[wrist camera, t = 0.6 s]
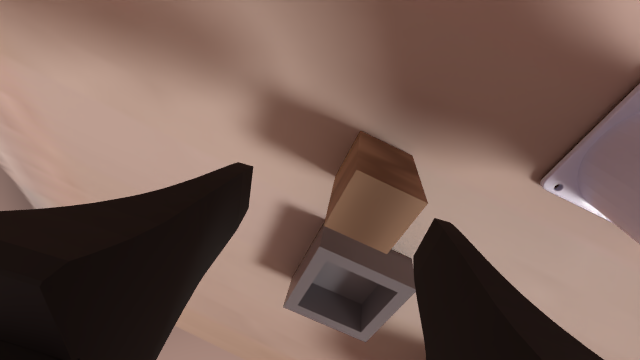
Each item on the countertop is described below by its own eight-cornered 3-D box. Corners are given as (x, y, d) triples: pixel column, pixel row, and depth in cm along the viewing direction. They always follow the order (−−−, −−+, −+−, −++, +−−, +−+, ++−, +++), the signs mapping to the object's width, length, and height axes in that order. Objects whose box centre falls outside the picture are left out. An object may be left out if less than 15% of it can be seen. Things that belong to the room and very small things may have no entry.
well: (411, 259, 23) (417, 290, 21) (366, 310, 27) (365, 342, 25) (325, 219, 23) (319, 246, 20) (292, 278, 27) (283, 306, 24)
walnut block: (412, 155, 19) (428, 203, 14) (382, 198, 21) (386, 254, 16) (360, 130, 19) (356, 169, 14) (335, 176, 21) (323, 225, 16)
